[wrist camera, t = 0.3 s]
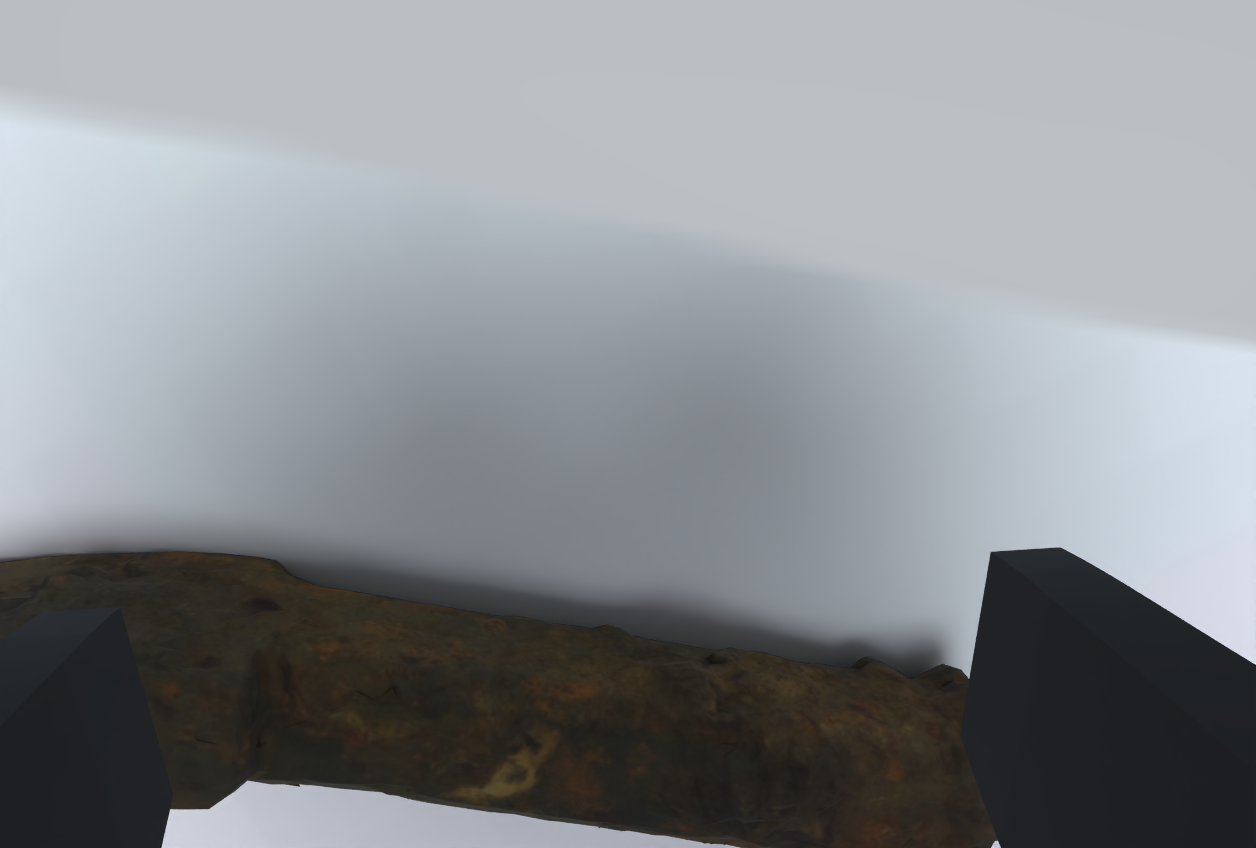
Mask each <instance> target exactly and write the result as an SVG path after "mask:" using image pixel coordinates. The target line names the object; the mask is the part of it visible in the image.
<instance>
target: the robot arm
mask: <svg viewBox="0 0 1256 848" xmlns="http://www.w3.org/2000/svg"><path fill="white" fill-rule="evenodd" d="M960 736H961V739H962V742H963V745H964V748H965V751H966V754H967V756H968V759H969V762H970V765H971V768H972V771H973V774H974V777H975V780H976V783H977V786H978V788H979V791H980V794H981V797H982V799H983V802H984V805H985V807H986V810H987V813H988V815H989V818H990V821H991V823H992V826H993V829H994V831H995V834H996V837H997V839H998V842H999V844H1000V846H1001V848H1256V665H1255V664H1253V663H1252V662H1250V661H1248V660H1247V659H1245V658H1243V657H1242V656H1240V655H1239V654H1237V653H1235V652H1234V651H1232V650H1231V649H1229V648H1227V647H1226V646H1224V645H1222V644H1221V643H1219V642H1218V641H1216V640H1214V639H1213V638H1211V637H1209V636H1208V635H1206V634H1205V633H1203V632H1201V631H1200V630H1198V629H1197V628H1195V627H1193V626H1192V625H1190V624H1189V623H1187V622H1185V621H1184V620H1182V619H1181V618H1179V617H1177V616H1176V615H1174V614H1173V613H1171V612H1169V611H1168V610H1166V609H1164V608H1163V607H1161V606H1160V605H1158V604H1156V603H1155V602H1153V601H1152V600H1150V599H1148V598H1147V597H1145V596H1144V595H1142V594H1140V593H1139V592H1137V591H1135V590H1134V589H1132V588H1130V587H1129V586H1127V585H1125V584H1124V583H1122V582H1121V581H1119V580H1117V579H1116V578H1114V577H1112V576H1111V575H1109V574H1107V573H1106V572H1104V571H1102V570H1100V569H1099V568H1097V567H1095V566H1094V565H1092V564H1090V563H1088V562H1087V561H1085V560H1083V559H1081V558H1079V557H1077V556H1076V555H1074V554H1072V553H1070V552H1068V551H1066V550H1064V549H1062V548H1044V549H1028V550H1013V551H997V552H991V554H990V560H989V566H988V572H987V578H986V584H985V590H984V596H983V602H982V607H981V613H980V619H979V625H978V631H977V637H976V643H975V649H974V655H973V661H972V666H971V672H970V678H969V684H968V690H967V696H966V702H965V708H964V714H963V720H962V725H961V731H960ZM172 798H173V791H172V788H171V784H170V781H169V777H168V774H167V770H166V767H165V763H164V760H163V756H162V752H161V749H160V745H159V742H158V738H157V735H156V731H155V728H154V724H153V721H152V717H151V714H150V710H149V707H148V703H147V700H146V696H145V693H144V689H143V685H142V682H141V678H140V675H139V671H138V668H137V664H136V661H135V657H134V654H133V650H132V647H131V643H130V640H129V636H128V633H127V629H126V625H125V622H124V618H123V615H122V611H121V608H120V607H112V608H96V609H80V610H64V611H48V612H41V613H40V614H38V615H37V616H35V617H34V618H32V619H31V620H29V621H28V622H26V623H25V624H23V625H22V626H20V627H19V628H18V629H16V630H15V631H13V632H12V633H11V634H9V635H8V636H6V637H5V638H4V639H2V640H1V641H0V848H161V847H162V842H163V838H164V833H165V829H166V825H167V820H168V816H169V811H170V807H171V803H172Z"/></svg>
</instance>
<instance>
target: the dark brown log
mask: <svg viewBox="0 0 1256 848" xmlns="http://www.w3.org/2000/svg"><path fill="white" fill-rule="evenodd" d="M112 607H120V608H121V611H122V615H123V618H124V622H125V625H126V629H127V633H128V636H129V640H130V643H131V647H132V650H133V654H134V657H135V661H136V664H137V668H138V671H139V675H140V678H141V682H142V685H143V689H144V693H145V696H146V700H147V703H148V707H149V710H150V714H151V717H152V721H153V724H154V728H155V731H156V735H157V738H158V742H159V745H160V749H161V752H162V756H163V760H164V763H165V767H166V770H167V774H168V777H169V781H170V784H171V788H172V791H173V798H172V803H171V807H170V809H210V808H211V807H212V806H214V805H215V804H217V803H218V802H220V801H221V800H223V799H224V798H225V797H227V796H228V795H230V794H231V793H233V792H235V791H236V790H237V789H238V788H239V787H240V786H241V785H243V784H244V783H245V782H246V781H247V780H248V781H254V782H260V783H266V784H286V785H287V784H288V785H293V786H300V785H299V784H302V785H315V786H324V787H331V788H341V789H352V790H363V791H374V792H383V793H385V794H387V795H396V796H400V797H404V798H407V799H412V800H417V801H422V802H427V803H434V804H440V805H447V806H454V807H460V808H467V809H474V810H480V811H487V812H497V813H508V814H517V815H522V816H527V817H532V818H537V819H542V820H548V821H559V822H566V823H574V824H582V825H589V826H596V827H599V828H600V827H602V828H608V829H613V830H619V831H634V832H640V833H646V834H651V835H664V836H670V837H675V838H681V839H686V840H692V841H697V842H702V843H704V844H705V843H710V844H724V845H726V844H727V845H731V846H736V847H741V848H991V846H992V845H993V843H994V841H997V840H998V839H997V837H996V834H995V831H994V829H993V826H992V823H991V821H990V818H989V815H988V813H987V810H986V807H985V805H984V802H983V799H982V797H981V794H980V791H979V788H978V786H977V783H976V780H975V777H974V774H973V771H972V768H971V765H970V762H969V759H968V756H967V754H966V751H965V748H964V745H963V742H962V739H961V736H960V731H961V725H962V720H963V714H964V708H965V702H966V696H967V690H968V684H969V679H968V677H967V676H966V675H965V674H964V673H963V671H962V670H960V669H957V668H954V667H951V666H948V665H945V664H941V665H939V666H937V667H935V668H933V669H931V670H929V671H927V672H925V673H923V674H921V675H919V676H916V677H914V678H908V677H906V676H905V675H903V674H902V673H900V672H899V671H897V670H895V669H893V668H891V667H889V666H888V665H886V664H884V663H882V662H880V661H877V660H875V659H872V658H869V657H864V658H861V659H860V660H859V661H858V662H857V663H856V664H855V665H854V666H853V667H851V668H842V667H834V666H828V665H821V664H811V663H800V662H794V661H790V660H787V659H784V658H781V657H777V656H774V655H771V654H767V653H762V652H752V651H742V650H737V649H734V648H727V649H722V650H717V651H716V650H710V649H704V648H697V647H691V646H686V645H681V644H676V643H670V642H662V641H655V640H650V639H646V638H641V637H636V636H632V637H631V636H630V635H628V634H627V633H625V632H624V631H622V630H621V629H619V628H616V627H613V626H610V625H603V626H599V627H595V628H586V627H579V626H571V625H563V624H556V623H549V622H544V621H539V620H535V619H530V618H526V617H514V616H497V615H491V614H485V613H479V612H472V611H466V610H460V609H454V608H449V607H443V606H437V605H430V604H423V603H415V602H410V601H405V600H400V599H395V598H389V597H383V596H377V595H371V594H366V593H360V592H353V591H346V590H340V589H333V588H326V587H319V586H315V585H313V584H311V583H309V582H307V581H304V580H302V579H299V578H296V577H293V576H292V575H291V574H290V573H289V572H288V571H287V570H286V569H285V568H284V567H283V566H282V565H280V564H279V563H278V562H277V561H276V560H271V559H266V558H259V557H252V556H241V555H231V554H217V553H195V552H153V553H115V554H89V555H70V556H55V557H42V558H35V559H27V560H19V561H12V562H1V563H0V641H1V640H2V639H4V638H5V637H6V636H8V635H9V634H11V633H12V632H13V631H15V630H16V629H18V628H19V627H20V626H22V625H23V624H25V623H26V622H28V621H29V620H31V619H32V618H34V617H35V616H37V615H38V614H40V613H41V612H48V611H64V610H80V609H96V608H112ZM599 828H598V829H599Z"/></svg>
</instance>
